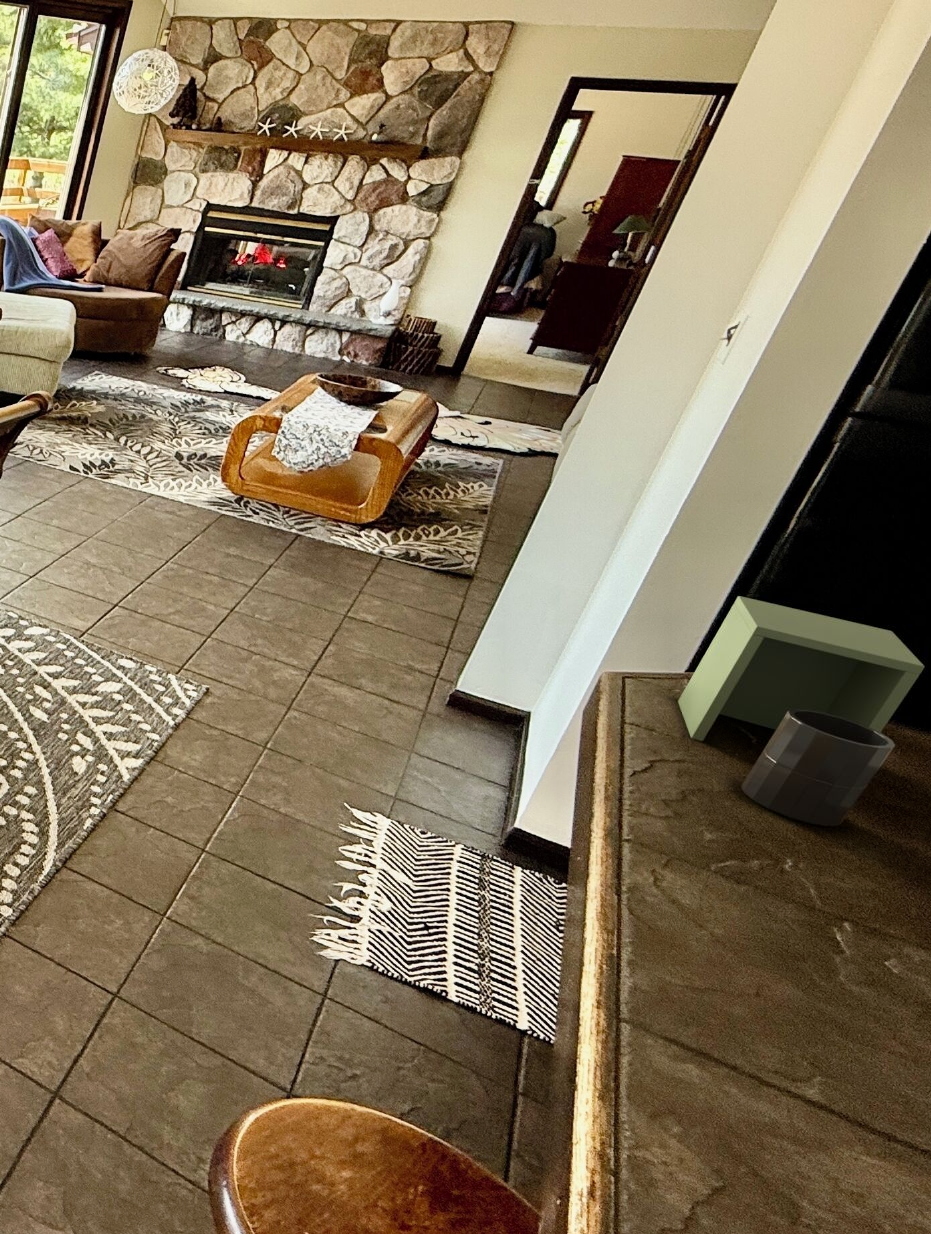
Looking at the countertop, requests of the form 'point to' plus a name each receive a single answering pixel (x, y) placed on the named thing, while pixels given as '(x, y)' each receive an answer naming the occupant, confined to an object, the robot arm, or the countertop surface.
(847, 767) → the black cylinder
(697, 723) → the u-shaped block
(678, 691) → the countertop surface
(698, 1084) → the countertop surface
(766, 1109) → the countertop surface
